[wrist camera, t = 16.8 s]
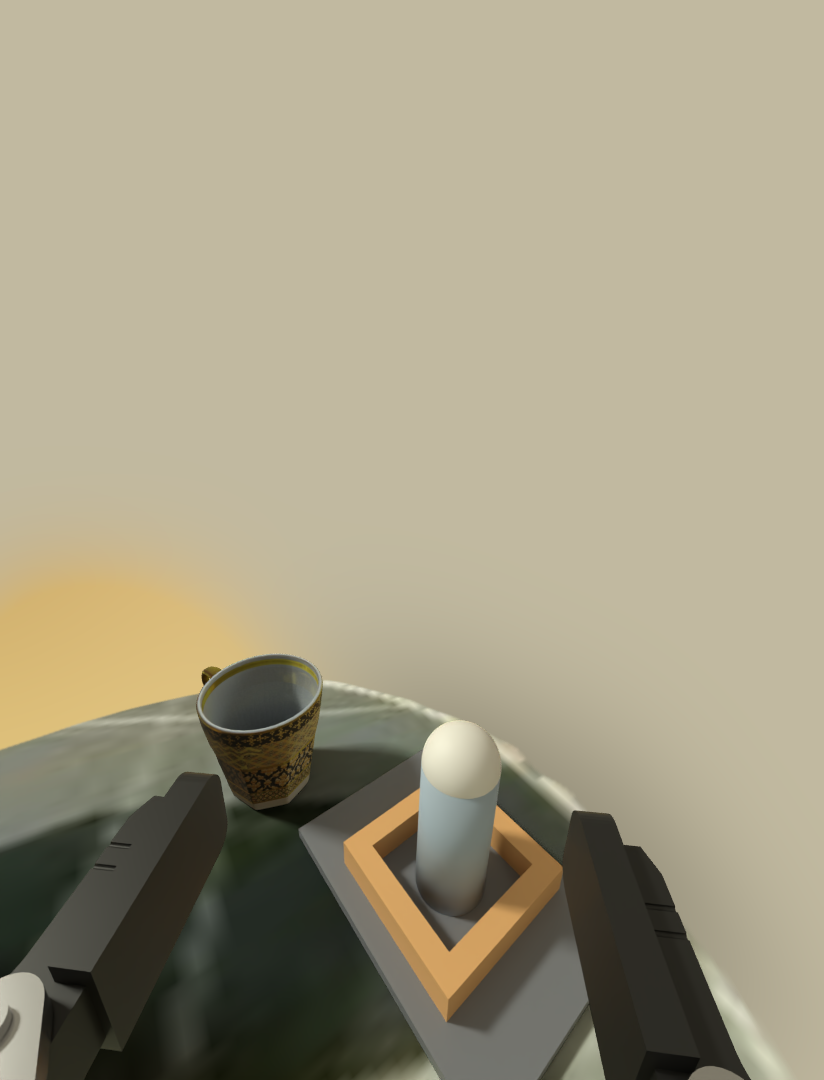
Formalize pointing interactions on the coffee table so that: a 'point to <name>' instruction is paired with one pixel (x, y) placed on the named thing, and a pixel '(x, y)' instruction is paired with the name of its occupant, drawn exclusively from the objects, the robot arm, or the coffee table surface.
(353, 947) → the coffee table surface
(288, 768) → the ceramic cup
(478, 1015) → the jig
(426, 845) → the pale grey cylinder
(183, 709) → the coffee table surface
